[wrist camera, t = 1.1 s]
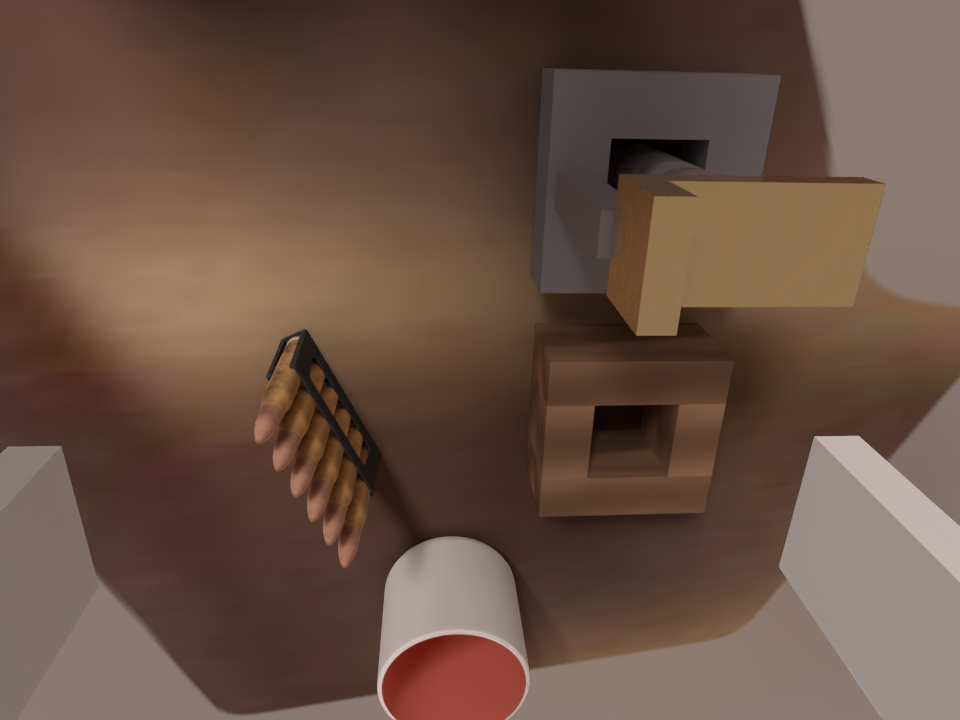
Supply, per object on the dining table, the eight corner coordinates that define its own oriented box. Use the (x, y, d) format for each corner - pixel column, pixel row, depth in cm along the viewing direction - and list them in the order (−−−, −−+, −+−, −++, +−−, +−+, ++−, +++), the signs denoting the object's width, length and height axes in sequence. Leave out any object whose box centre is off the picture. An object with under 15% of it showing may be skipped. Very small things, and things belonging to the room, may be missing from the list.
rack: (535, 324, 45) (550, 361, 39) (697, 323, 45) (734, 360, 40) (526, 465, 49) (538, 516, 44) (674, 462, 50) (704, 512, 44)
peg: (605, 143, 40) (687, 185, 27) (670, 144, 40) (782, 186, 28) (598, 210, 42) (673, 279, 29) (661, 211, 42) (763, 280, 29)
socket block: (542, 68, 38) (601, 76, 25) (748, 73, 39) (906, 83, 26) (530, 272, 43) (574, 367, 30) (713, 273, 44) (832, 365, 31)
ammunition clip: (381, 454, 48) (368, 573, 37) (358, 464, 48) (337, 585, 37) (306, 328, 44) (265, 420, 33) (280, 339, 44) (231, 434, 33)
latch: (619, 174, 27) (654, 196, 22) (862, 177, 27) (939, 199, 23) (606, 295, 29) (636, 335, 24) (833, 294, 29) (898, 334, 25)
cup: (537, 585, 54) (559, 692, 45) (438, 645, 56) (441, 760, 47) (462, 505, 50) (469, 605, 41) (359, 573, 52) (344, 682, 43)
